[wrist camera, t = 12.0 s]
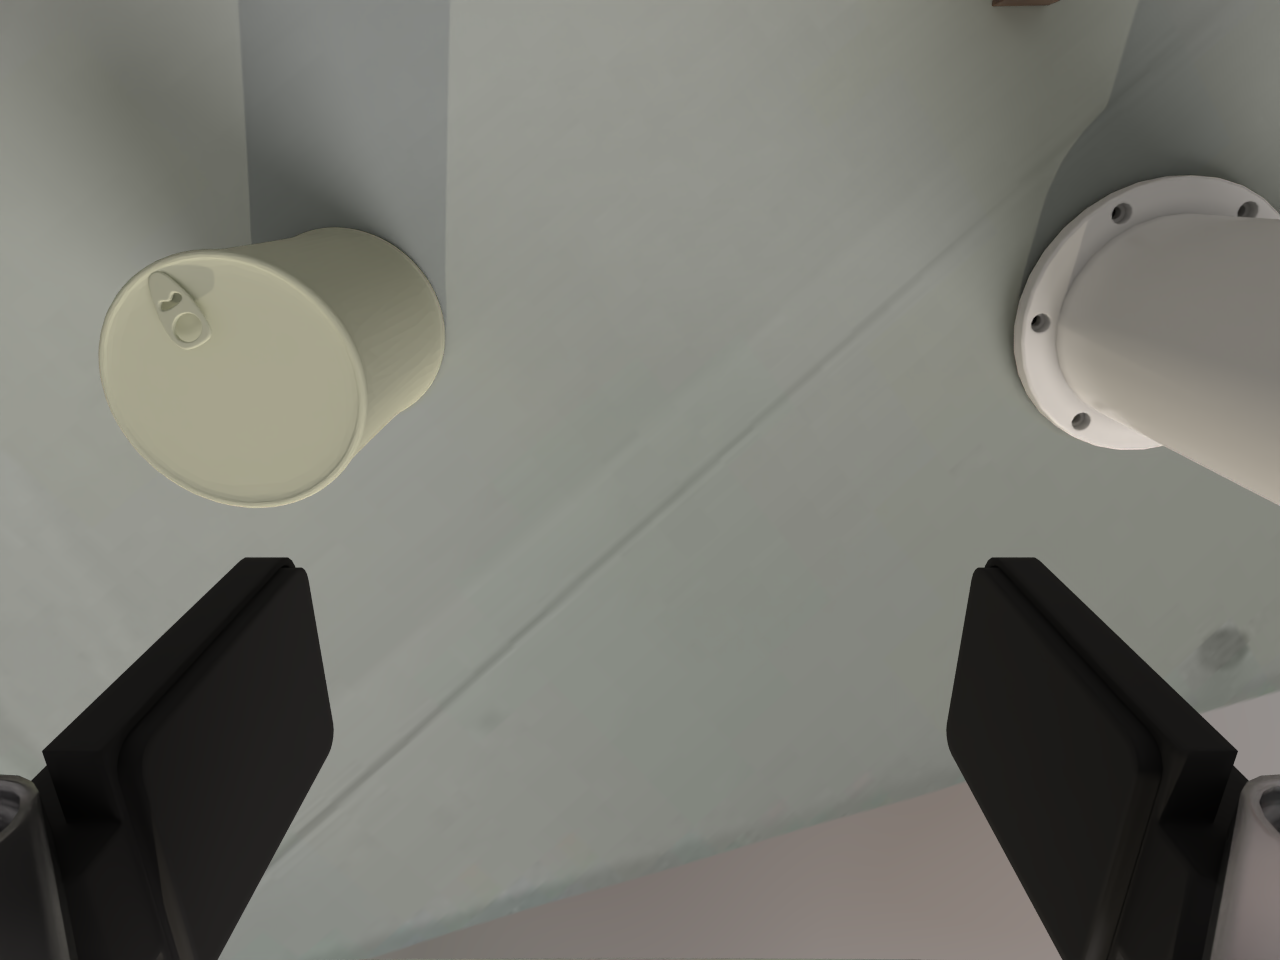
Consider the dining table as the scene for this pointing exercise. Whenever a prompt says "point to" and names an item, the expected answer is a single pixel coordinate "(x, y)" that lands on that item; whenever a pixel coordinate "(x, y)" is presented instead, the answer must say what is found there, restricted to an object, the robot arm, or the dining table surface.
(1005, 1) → the rail
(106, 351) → the can
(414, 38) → the dining table surface
